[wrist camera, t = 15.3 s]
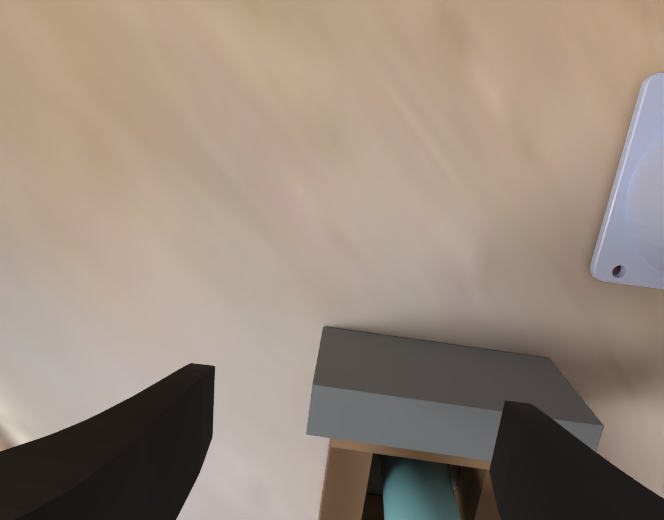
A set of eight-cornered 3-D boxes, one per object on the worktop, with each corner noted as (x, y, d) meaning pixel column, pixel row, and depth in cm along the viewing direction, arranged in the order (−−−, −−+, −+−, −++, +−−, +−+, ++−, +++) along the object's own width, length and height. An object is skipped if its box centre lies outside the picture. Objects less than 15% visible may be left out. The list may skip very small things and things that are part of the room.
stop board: (549, 358, 21) (604, 426, 16) (538, 398, 22) (588, 475, 17) (323, 326, 22) (312, 384, 17) (318, 367, 22) (306, 434, 17)
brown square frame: (516, 397, 22) (539, 439, 19) (479, 539, 24) (495, 596, 21) (339, 372, 22) (336, 410, 19) (318, 515, 24) (313, 569, 21)
